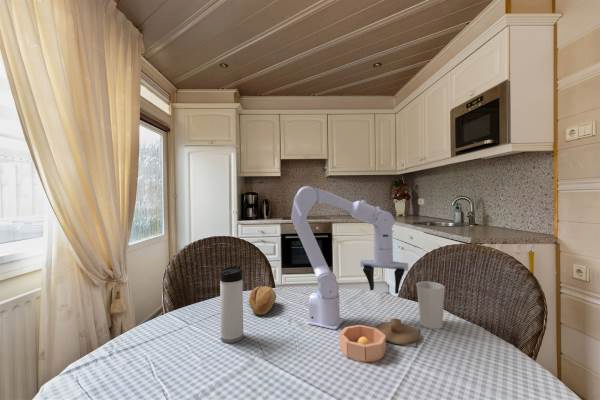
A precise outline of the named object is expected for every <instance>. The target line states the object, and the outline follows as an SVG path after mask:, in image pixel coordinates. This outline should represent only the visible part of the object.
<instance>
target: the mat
mask: <svg viewBox="0 0 600 400" xmlns="http://www.w3.org/2000/svg"><path fill="white" fill-rule="evenodd" d="M380 323H384V321H381V322H380ZM414 328H415V329H416V330H417V331H418V332H419V333H420V328H417V327H414ZM417 342H418V341H416V342H414V343H411V344H399V345H402V346H404V347H405V346H406V347H409V348H410V347H411V348H417Z"/></svg>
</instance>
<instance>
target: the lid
mask: <svg viewBox="0 0 600 400" xmlns="http://www.w3.org/2000/svg"><path fill="white" fill-rule="evenodd" d="M383 322H384V321H383ZM374 328H377V329H378V330H379V331H381V332H382V333H383V334H384V335H385V336H386V342H387V343H391V344H396V345H400V344H411V343H414V342H416V341H417V342H418V341H419V339H420V331H419V332H418V331H417V330H416V329H415V328H416V327H413V326H411V325H409V324H405V323H402V320H401V319H399V318H391V319H390V321H386V322H384V323H381V322H380V323H378V324H376V325H375V326H374Z"/></svg>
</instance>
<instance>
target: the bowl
mask: <svg viewBox="0 0 600 400" xmlns="http://www.w3.org/2000/svg"><path fill="white" fill-rule="evenodd" d="M338 335H339V336H338V337H339V342H338V343H339V349H340V350H341V353H342V354H343V355H344V356H345V357H347V358H348V359H350V360H353V361H357V362H361V363H371V362H372V363H373V362H377V361H379V360H381V359H384V356H385V354H386V353H385V352H386V350H387V343H386V342H387V341H386V336H385V335H384V334H383V333H382V332H381V331H379V330H378V329H377V328H375V326H373V327H372V326H368V325H361V324H357V325H351V326H345V327H344V328H342V330H341V331H340V332H339V334H338ZM360 337H366V338H367V339H368V340H369V342H370V344H366V345H364V344H360V343H358V340H359V338H360Z"/></svg>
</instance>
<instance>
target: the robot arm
mask: <svg viewBox="0 0 600 400" xmlns="http://www.w3.org/2000/svg"><path fill="white" fill-rule="evenodd" d="M316 202H317V205H318V204H329V205H331V206H334V207H337V208H340V209H341V210H345V211H348V212H349V213H350V216H351V217H352V218H354V219H356V220H358V221H361V222H364V223H366V224H368V225H373V250H374V251H373V257H374V258H373V259H361V260H360V261H359V262H360V263H359V264H360V265H359V266H360V267H363V269H362V270H363V273H364V275H365V277H366V280H367V283H368V285H369V291H374V289H375V281H374V279H375V278H374V274H375V273H374V272H375V271H374V270H375V268H378V269H389V270H395V271H393V272H394V284H395V285H394V293H395V294H399V292H400V291H399V290H400V286H401V281H402V278H403V276H404V275H405V272H408V271H409V263H408V262H399V261H394V254H393V253H394V250H393V249H394V247H393V243H394V242H393V227H394V225H395V222H396V219H395V218H394V216H393V214H392V213H391V212H389V211H388V210H383V209H381V206H374V205H371V204H368V203H367V200H363V199H362V200H356V201H350V200H348V199H346V198H343V197H341V196H339V195H337V194H334V193H332V192H330V191H327V190H323V189H320V188H314V187H312V186H310V185H305V186H302V187H300V188H299V189H298V190H297V193H296V194H295V196H294V197H293V203H292V204H293V205H292V210H291V215H290V218H291V221H292V224H293V226H294V228H295V231H296V232H297V233H296V234H297V236H298V238H299V240H300V241H301V244H302V246H303V249H304V251H305V253H306V256H307V258H308V260H309V263H310V265H311V268H312V269H313V272H314V275H315V278H316V279H317V280H316V281H317V284H318V286H317V288H318V290H317V291H316V292H312V293H311V294H310V295H309V300H308V321H307V324H308V325H312V326H317V327H322V328H325V329H326V328H327V329H330V330H337V329H338V328H339V327H340V326H341V324H342V323H343V322H344V321H345V318H344V317H340V315H341V314H340V313H341V312H340V311H341V309H340V308H341V306H340V292H339V291H340V284H339V282H338V280H337V276H336V274H335V273H334V272H333V271H332V270H331V269H330V268H329V266H328V263H327V261H326V259H325V257H324V254H323V252H322V250H321V248H320V246H319V244H318V242H317V239H316V238H315V237H316V236H315V235H314V232H313V230H312V229H311V226H310V224H309V222H308V219H307V217H308V216H309V214H310V210H311V208H312V207H313V206H314V204H316Z"/></svg>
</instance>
